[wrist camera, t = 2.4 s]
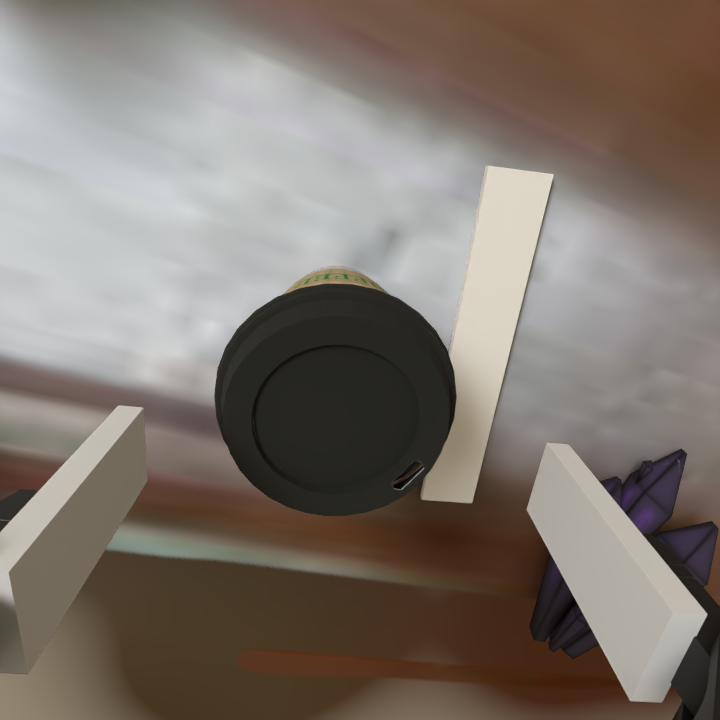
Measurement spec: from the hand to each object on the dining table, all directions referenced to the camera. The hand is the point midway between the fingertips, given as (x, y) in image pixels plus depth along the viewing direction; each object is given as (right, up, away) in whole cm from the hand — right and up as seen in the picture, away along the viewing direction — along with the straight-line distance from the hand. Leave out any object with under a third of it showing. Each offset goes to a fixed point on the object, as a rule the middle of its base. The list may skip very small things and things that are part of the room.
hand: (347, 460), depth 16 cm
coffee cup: (-1, +7, +16) cm, 18 cm away
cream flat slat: (+9, +4, +18) cm, 20 cm away
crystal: (+20, -11, +25) cm, 34 cm away
